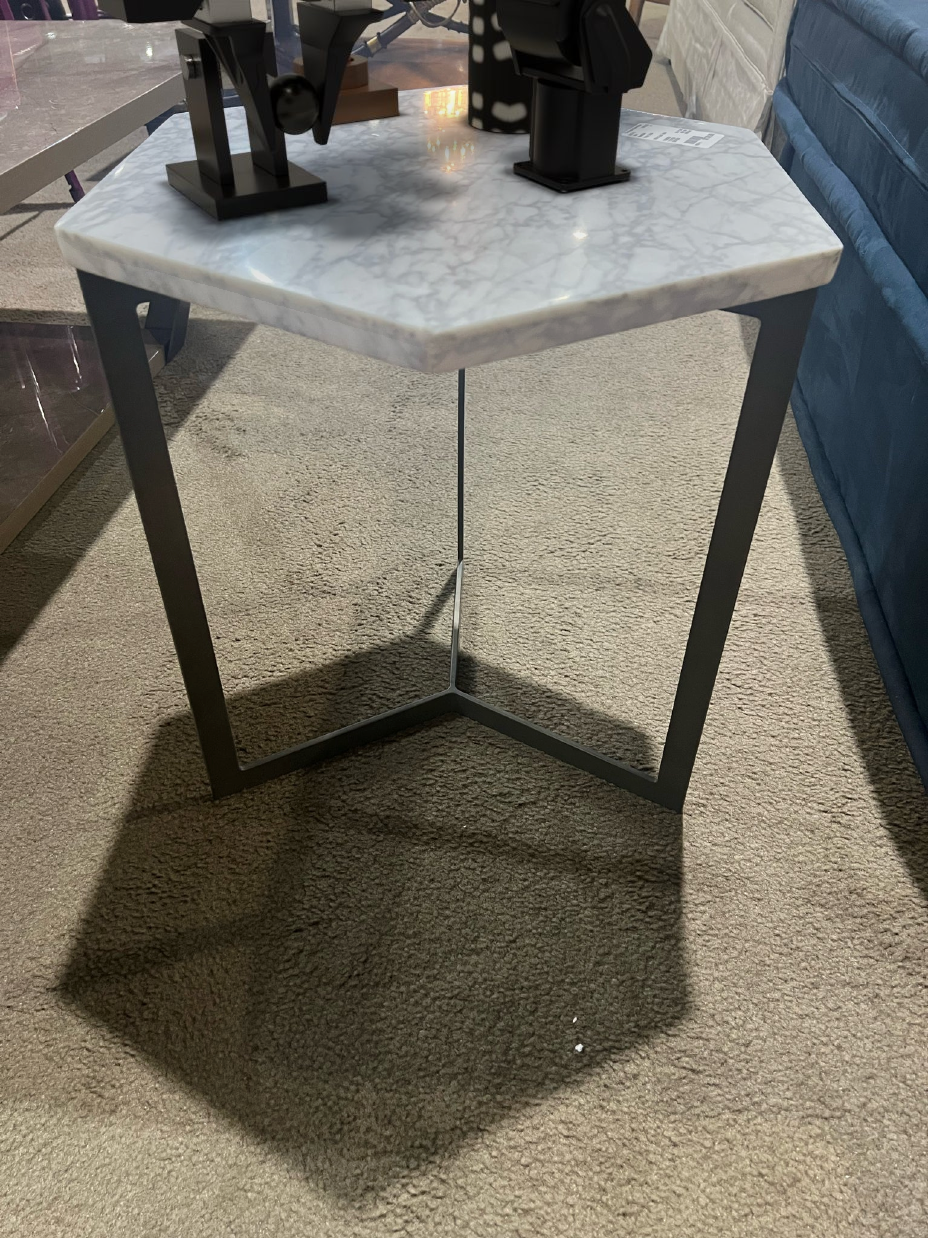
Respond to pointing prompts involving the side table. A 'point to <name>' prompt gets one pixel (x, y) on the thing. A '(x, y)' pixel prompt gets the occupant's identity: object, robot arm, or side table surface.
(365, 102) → the button block
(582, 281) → the side table surface
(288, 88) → the lever
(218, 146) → the bracket
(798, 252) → the side table surface
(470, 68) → the spotted black cylinder
